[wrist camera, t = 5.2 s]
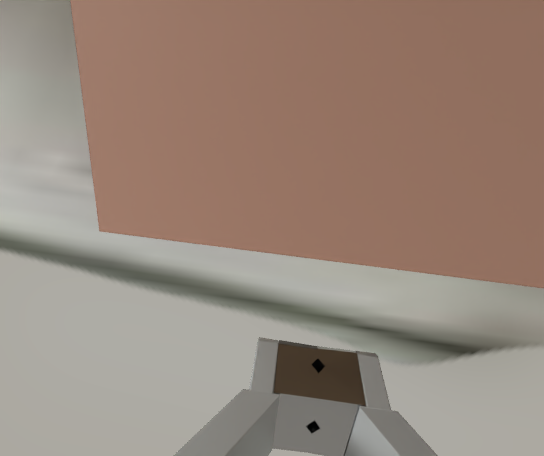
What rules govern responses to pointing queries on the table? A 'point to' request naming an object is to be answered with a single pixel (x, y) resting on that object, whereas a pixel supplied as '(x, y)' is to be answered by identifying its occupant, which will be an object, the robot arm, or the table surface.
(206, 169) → the walnut block
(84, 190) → the table surface
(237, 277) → the table surface
